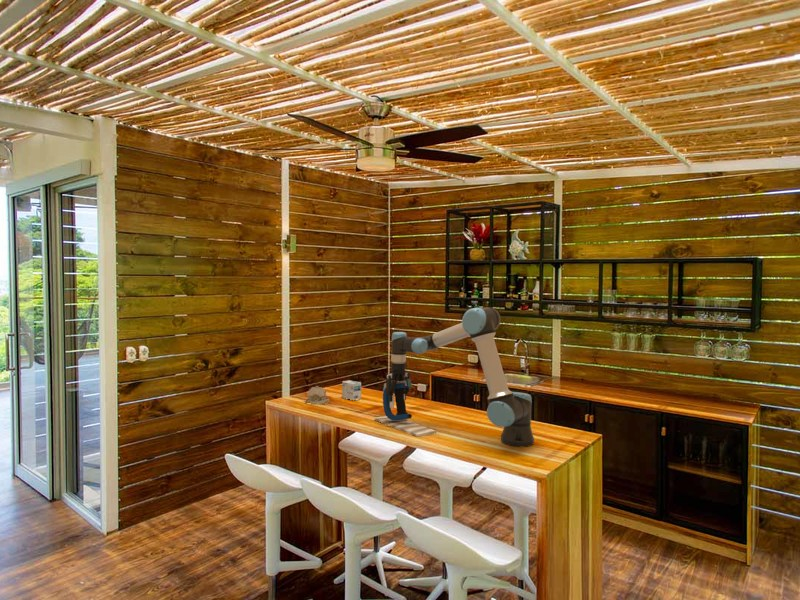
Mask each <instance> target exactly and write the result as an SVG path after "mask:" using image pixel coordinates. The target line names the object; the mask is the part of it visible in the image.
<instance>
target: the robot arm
mask: <svg viewBox="0 0 800 600" xmlns="http://www.w3.org/2000/svg"><path fill="white" fill-rule="evenodd" d="M500 324H501V315H500V313H499V311H497V310H496V309H495V308H493V307H490V306H488V307H487V306H485V307H474V308H473V307H472V308H469V309H468V310H467V311H465V312H464V314H463V316H462V319H461V323H458V324H455V325H451V326H450V327H447V328H445V329H443V330H439V331H437V332H435V333H432V334H430V335H427V336H418V337H410V336H408V335H407V333H406V332H404V331H395V332H392V333H391V334H392V335H391V340H390V341H391V353H390V354H391V355H390V357H391V360H390V361H391V363H390V373H389V374H386V375H385V377H386V378H385V379H386V382H385V383H386V394H388V395H389V401H390V408H391V409H395V394H394V390H395V386H396V383H397V382H398V381H405V380H406V379H410V375H411V374H410V372H406V370H407V369H406V367H407V365H406V362H407V353H413V354H417V355H418V354H425V352H428V351H431V352H432V351H436V350H438V349H439V348H441V347H444V346H446V345H449V344H452V343H455V342H458V341H460V340H463V339H465V338H468V337H469V338H470V340H471V341H472V342H474V343H475V347H476V350H477V354H478V356H479V357H478V358H479V360H480V364H481V368H482V371H483V375H484V378H485V382H486V386H487V389H488V393H489V395H488V396H487V402H488V406H487V409H486V415H487V418H488V420H489V421H490V422H491V424H493V425H494V426H496V427H499V428H503V429H502V433H501V435H500V442H501V441H502V442H501V443H502V444H505V445H507V444H509V445H508V446H511V445H515V446H514V447H520V446H524V447H529V446H528V445H531V446H533V445H534V444H535V437H534V436H533V435H534V434H533V431H532V427H531V425H532V423H531V422H532V403H533V401H532V396H531V394H529V393H525V392H521V391H520V392H519V391H512V390H510V388H509V386H508V383H507V379H506V377H505V373H504V369H503V366H502V363H501V358H500V356H499V352H498V348H497V345H496V342H495V335H496V334H497V332H496V329H498V328H499V327H500ZM391 382H392V383H391ZM408 393H410V388H405V389H404V394H403V396H404V400H405V401H406V400H407V394H408ZM533 443H534V444H533ZM532 444H533V445H532Z"/></svg>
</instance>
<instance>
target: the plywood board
mask: <svg viewBox="0 0 800 600" xmlns="http://www.w3.org/2000/svg"><path fill="white" fill-rule="evenodd" d="M373 420H374V421H375V420H376V422H378V421H379V422H378V423H380V422H381V423H380V424H383V423H384V424H383V425H385V424H386V426H388V425H389V427H390V426H391V428H393V427H394V428H393V429H395V428H396V430H397V431H398V430H399V431H400V430H401V432H403V433H405V432H406V433H405V434H409V435H411V436H413V437H415V436H416V437H415V438H419V437H424V436H428V435H429V436H430V435H434V433H435V434H437V430H435V429H432V428H430V427H428V426H424V425H421V424H418V423H416V422H413V421H410V420H408V419H403V420H391V419H389V418H388V417H387V416H386V415H385V416H384V415H383V416H377V417H374V419H373Z"/></svg>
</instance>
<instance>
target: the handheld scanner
mask: <svg viewBox="0 0 800 600" xmlns="http://www.w3.org/2000/svg"><path fill="white" fill-rule="evenodd" d="M386 383H387V382H385V383H383V384H382V385H381V388H382V391H383V392H382V405H383V411H384V415H385V416H387V417H388V418H389V419H391V420H403V419H406V420H408V419H412V417H413V415H412V413H408V412H407V408H406V400H404V396H403V394H404V389H405V388H409V389H412V388H413V385H412V379H410V378H409V379H406V380H405V381H399V380H398V381H397V383H396V386H395V390H394V393H393V395H394V401H395V406H396V414H394V413H393V411H392V408H390V401H389V395H388V394H386ZM391 383H392V381H391Z"/></svg>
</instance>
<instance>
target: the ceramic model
mask: <svg viewBox="0 0 800 600" xmlns="http://www.w3.org/2000/svg"><path fill="white" fill-rule="evenodd" d="M306 395H307V397H308V398H307V399H306V400H305V402H306V404H307V403H311V404H310V405H326V404H325V403H328V402H329V401H330V398H329V397H328V398H327V391H326V389H325V388H324V387H321V386H318V385H315V386H312V387H311V388H310V389H309V390H308V391H307V394H306ZM328 404H329V403H328Z"/></svg>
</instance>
